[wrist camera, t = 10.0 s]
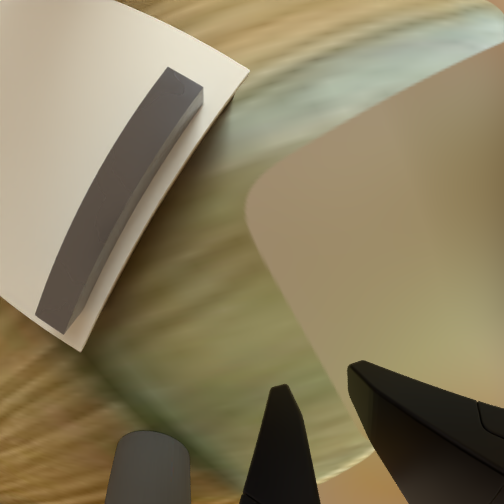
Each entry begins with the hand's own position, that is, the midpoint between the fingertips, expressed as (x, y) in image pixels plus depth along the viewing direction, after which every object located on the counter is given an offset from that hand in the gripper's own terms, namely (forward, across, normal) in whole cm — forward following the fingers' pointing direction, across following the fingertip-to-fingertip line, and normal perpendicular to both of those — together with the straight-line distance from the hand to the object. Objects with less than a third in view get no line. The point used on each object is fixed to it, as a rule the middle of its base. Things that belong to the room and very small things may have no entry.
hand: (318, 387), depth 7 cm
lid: (+7, +10, -10) cm, 16 cm away
